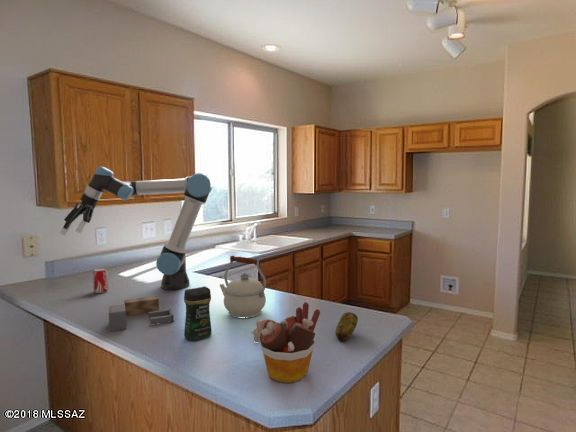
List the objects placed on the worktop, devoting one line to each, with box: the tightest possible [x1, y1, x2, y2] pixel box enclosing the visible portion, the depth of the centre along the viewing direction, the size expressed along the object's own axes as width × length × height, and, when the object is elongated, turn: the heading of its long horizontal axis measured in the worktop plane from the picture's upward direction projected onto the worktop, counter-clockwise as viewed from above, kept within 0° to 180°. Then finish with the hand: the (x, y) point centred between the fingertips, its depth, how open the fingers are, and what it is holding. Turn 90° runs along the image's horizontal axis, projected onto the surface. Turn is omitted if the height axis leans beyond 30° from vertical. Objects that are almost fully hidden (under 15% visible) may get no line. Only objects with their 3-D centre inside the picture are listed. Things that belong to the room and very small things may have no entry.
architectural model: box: [251, 327, 260, 342], centre depth 137 cm, size 3×7×7 cm, turn 139°
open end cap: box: [147, 308, 175, 325], centre depth 157 cm, size 9×9×2 cm
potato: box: [334, 311, 358, 342], centre depth 140 cm, size 8×13×8 cm, turn 136°
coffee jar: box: [183, 285, 213, 342], centre depth 139 cm, size 10×8×19 cm
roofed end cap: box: [108, 303, 127, 332], centre depth 150 cm, size 6×9×7 cm
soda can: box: [92, 267, 109, 294], centre depth 196 cm, size 7×7×12 cm
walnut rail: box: [123, 295, 160, 317], centre depth 166 cm, size 14×4×6 cm, turn 115°
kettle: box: [219, 255, 267, 319], centre depth 165 cm, size 25×18×25 cm
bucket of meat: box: [255, 301, 321, 384], centre depth 112 cm, size 20×16×20 cm
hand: (70, 233), depth 186 cm, fingers open, 13 cm apart
